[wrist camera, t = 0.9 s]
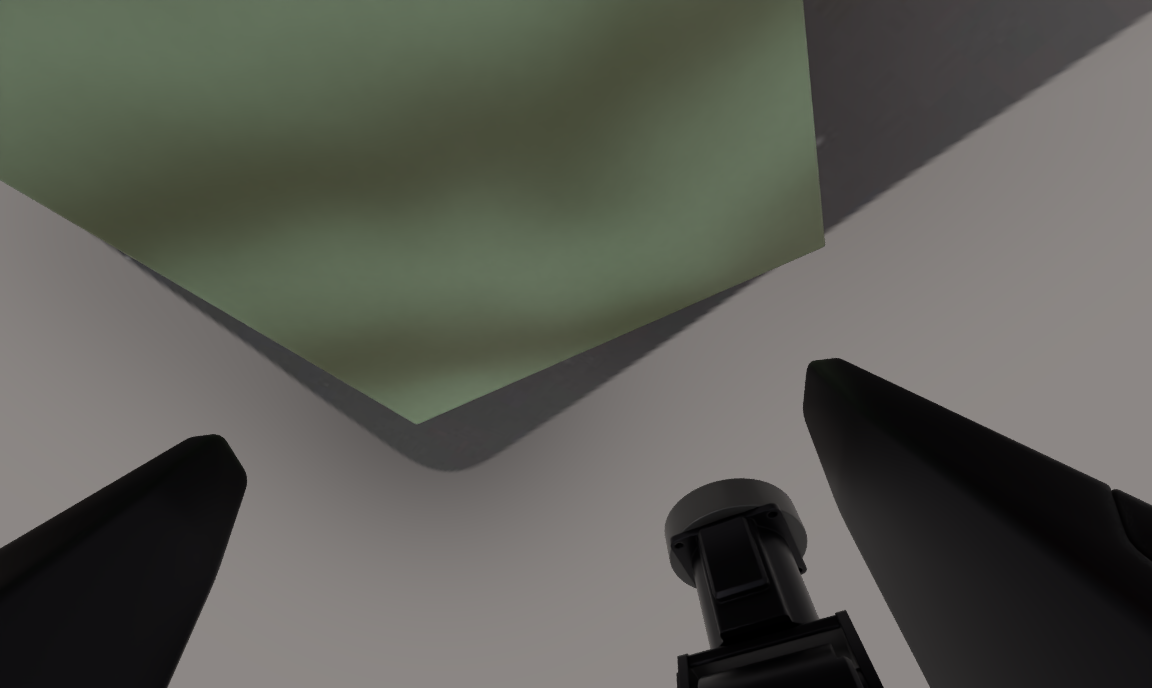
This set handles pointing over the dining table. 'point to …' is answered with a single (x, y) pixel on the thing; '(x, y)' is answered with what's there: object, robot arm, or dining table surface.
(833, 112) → the dining table surface
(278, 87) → the box lid
